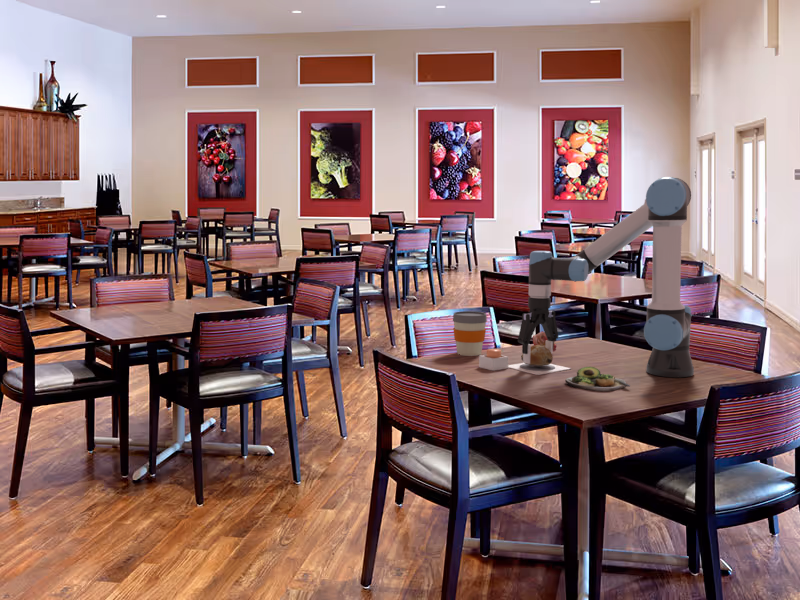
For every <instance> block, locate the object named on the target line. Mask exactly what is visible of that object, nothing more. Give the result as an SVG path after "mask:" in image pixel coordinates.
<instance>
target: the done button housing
mask: <svg viewBox="0 0 800 600" xmlns="http://www.w3.org/2000/svg"><path fill="white" fill-rule="evenodd" d="M508 365H509V356H506V355H503V354H501V357H499V358H490V357H486V354H481V355H478V367H479V368H480V369H485V370H488V371H499V370H505V369H509V368H508Z"/></svg>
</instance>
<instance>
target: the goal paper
mask: <svg viewBox="0 0 800 600" xmlns="http://www.w3.org/2000/svg"><path fill="white" fill-rule="evenodd" d="M507 369H511V370H514V371H515V370H516V371H519V372H523V373H528V374H531V375H532V374H533V375H536V376H539V375H546V374H552V373H556V372H557V373H558V372H564V371H569V370H572V368H571V367H566V366H562V365H558V364H553V363H550V364H549V365H544V366H537V365H528V364H525V363H523V362H520V363H514V364H508V368H507Z"/></svg>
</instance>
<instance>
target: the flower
mask: <svg viewBox="0 0 800 600" xmlns="http://www.w3.org/2000/svg"><path fill="white" fill-rule="evenodd" d="M546 340H548V339H547V337H546V334H545V332H544V330H543V331H540V332H538V333H537V334H533V335H532V343H533V346H534V345H540V346H545V343H546ZM555 342H556V341H554V348H553V353H554V352H556V350H557V344H556V343H555Z"/></svg>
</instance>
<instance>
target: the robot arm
mask: <svg viewBox="0 0 800 600" xmlns="http://www.w3.org/2000/svg"><path fill="white" fill-rule="evenodd" d="M691 199H692V191H691V188H690V186H689V184H688V183H687V182H686V181H685V180H683V179H681V178H679V177H673V176H665V177H660V178H658V179H656V180H655V181H653V182H652V183H651V184H650V185H649V186H648V188H647V190H646V194H645V199H644V203H643V204H642V205H641V206H640V207H639V208H637V209H636V210H634V211H633V212H632V213H630V214H629V215H627V216H625V218H624V219H622V220H621V221H620V222H618V223H617V224H615V225H614V226H613V227H611V228H610V229H609V230H608V231H606V232H605V233H604V234H602V235H601V236H599V237H598V238H597V239H595V240H594V241H593V242H592V243H590V244H589V245H588V246H586V247H585V248H584V249H582V250H581V251H580V252H579V253H577V254H576V255H574V256H572V257H555V256H553V253H552V251H549V250H534V251H531V252H530V254H529V262H528V301H527V303H528V304H527V307H528V309H529V311H528V313H522V315H521V324H520V328H519V329H520V330H519V332H518V336H517V343H519V344H521V345H522V346H521V347H522V349H521V350H522V351H521V353H522V355H523V361H522V363H527V364H530V353H531V346H532V345H531V344H530V341H531V340H532V338H533V335H534V332H535V331H536V328H537V327H538V326H539V325H541V326H542V329H543V332H545V334H546V337H547V339H548V340H546V343H545V347H546V348H547V349H549V350H550V352H551V353H552V354H553V353H554V352H553V348H554V344H555V342H557V339H559V337H560V336H559V333H558V331H559V330H558V326H557V322H556V321H557V320H556V311H554V310H549V309H550V308H551V303H552V302H551V301H552V300H551V296H552V280H553V281H568V282H585V281H587V279H588V276H589V275H590V274H591V272H592V271H594V270H595V269H597V267H599V266H600V265H602V264H603V263H604V262H605V261H607V260H608V259H609V258H611V257H612V256H614V255H615V254H616V253H618V252H619V251H621V250H623V248H625V247H626V246H627V245H629V244H631V243H632V242H633V241H635V240H636V239H637V238H639V237H640V236H642V234H644V233H645V232H647V231H649V230H650V229H651V228H652V263H651V266H652V267H651V268H652V271H651V273H652V274H651V278H652V279H651V280H652V282H651V302H650V303H649V304H648V305H647V306H646V322H645V324H644V327H643V334H644V335H643V337H644V339H645V341H646V342H647V343H648V345H649V346H650V347H652V350H651V353H650V355H649V358H648V361H647V363H646V369H645V370H646V373H648V374H650V375H653V376H657V377H658V376H659V377H665V378H688V377H692V376H694V371H695V369H694V364H693V360H692V358H691V353H690V343H691V342H690V341H691V323H692V320H691V319H692V316H693V314H692V309H691V307H690V306H688V305H684V304H683V303H682V302H681V279H682V278H681V274H682V273H681V272H682V271H681V270H682V267H681V266H682V229H683V228H682V227H683V225H684V224H685V223H686V222H687V221H688V206H689V205H690V202H691ZM554 341H555V342H554Z"/></svg>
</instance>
